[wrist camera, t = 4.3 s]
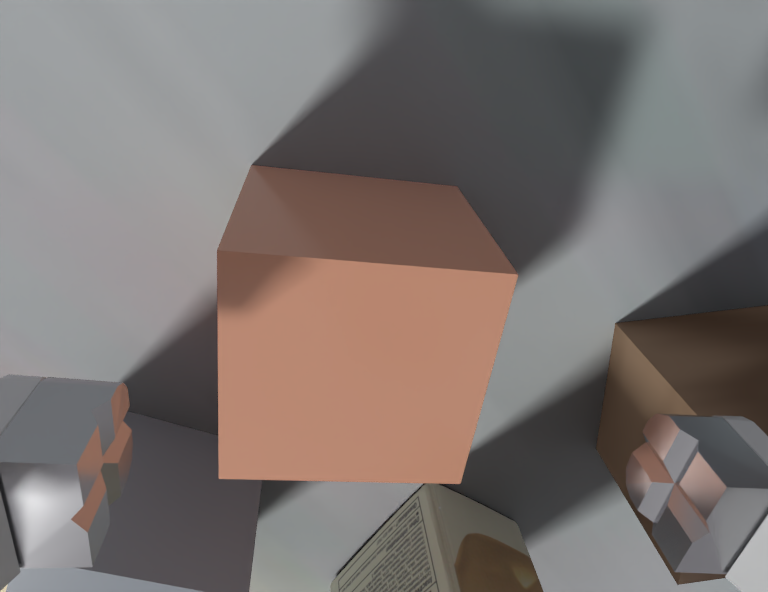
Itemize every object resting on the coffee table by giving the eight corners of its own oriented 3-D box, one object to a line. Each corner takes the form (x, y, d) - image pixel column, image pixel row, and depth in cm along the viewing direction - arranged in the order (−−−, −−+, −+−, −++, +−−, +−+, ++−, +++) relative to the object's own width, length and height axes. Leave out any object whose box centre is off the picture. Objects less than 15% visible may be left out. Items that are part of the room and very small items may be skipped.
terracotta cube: (456, 185, 14) (518, 274, 9) (423, 351, 16) (460, 484, 12) (251, 163, 13) (217, 250, 9) (247, 341, 15) (218, 479, 11)
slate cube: (266, 446, 17) (247, 599, 13) (216, 547, 19) (185, 709, 15) (98, 401, 16) (15, 556, 12) (63, 515, 18) (-20, 684, 14)
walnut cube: (776, 303, 17) (938, 413, 12) (736, 428, 19) (860, 558, 15) (613, 321, 16) (720, 441, 12) (594, 446, 19) (677, 584, 14)
